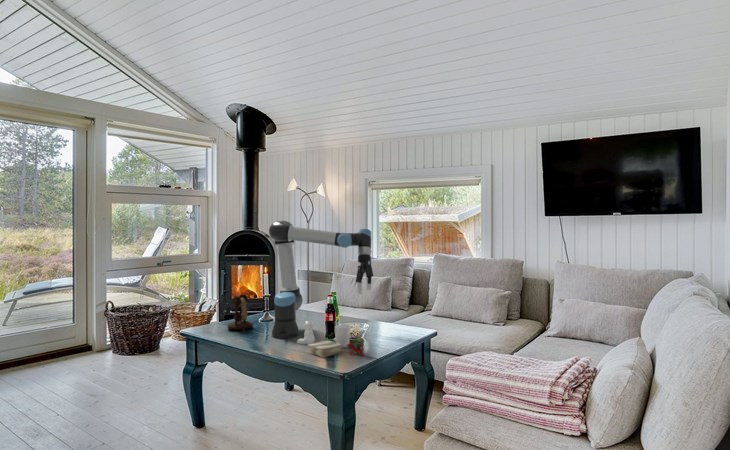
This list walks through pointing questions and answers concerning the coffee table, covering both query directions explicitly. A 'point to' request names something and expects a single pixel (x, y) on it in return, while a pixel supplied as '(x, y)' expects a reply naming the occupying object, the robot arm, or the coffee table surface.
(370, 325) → the coffee table surface
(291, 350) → the coffee table surface
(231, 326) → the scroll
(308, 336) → the sitting furry creature
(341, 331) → the white cup
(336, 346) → the birch stand
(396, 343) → the coffee table surface
